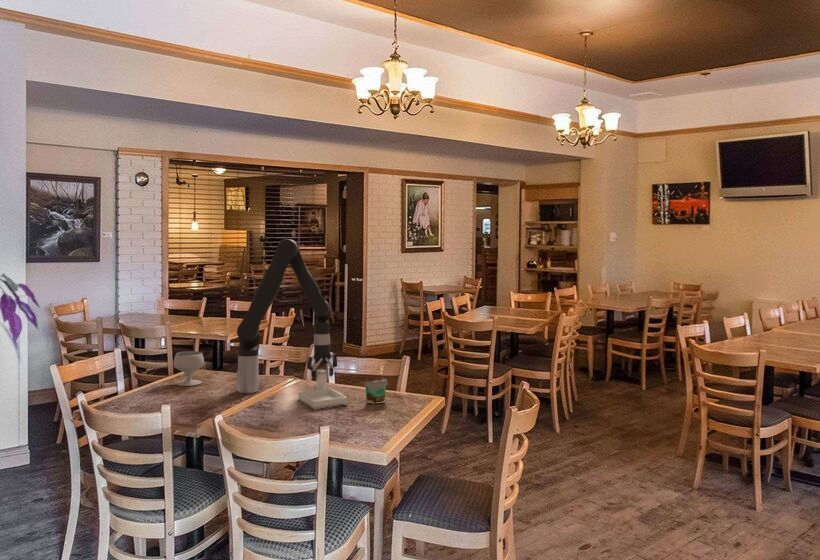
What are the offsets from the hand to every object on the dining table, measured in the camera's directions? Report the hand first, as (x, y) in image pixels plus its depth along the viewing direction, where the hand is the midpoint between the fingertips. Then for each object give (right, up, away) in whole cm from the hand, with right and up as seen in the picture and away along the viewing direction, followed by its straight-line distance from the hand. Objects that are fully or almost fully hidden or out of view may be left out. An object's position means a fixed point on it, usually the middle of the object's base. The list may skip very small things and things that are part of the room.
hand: (322, 377), depth 301 cm
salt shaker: (0, -7, 0) cm, 7 cm away
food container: (+27, -9, -17) cm, 33 cm away
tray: (+3, -8, -19) cm, 20 cm away
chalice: (-66, -5, +11) cm, 67 cm away
